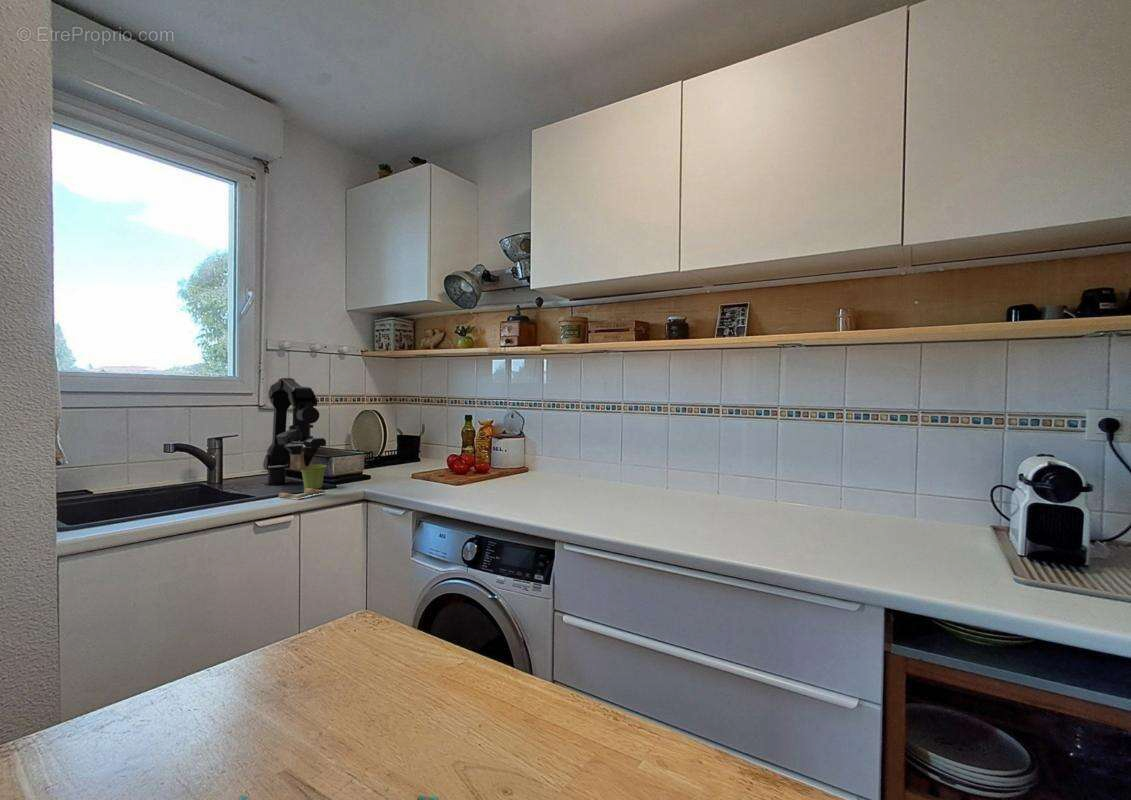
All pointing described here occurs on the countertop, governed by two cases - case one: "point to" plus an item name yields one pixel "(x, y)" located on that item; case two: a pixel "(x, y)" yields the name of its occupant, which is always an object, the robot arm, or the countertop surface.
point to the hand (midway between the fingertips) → (301, 465)
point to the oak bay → (306, 490)
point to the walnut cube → (299, 462)
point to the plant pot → (313, 476)
